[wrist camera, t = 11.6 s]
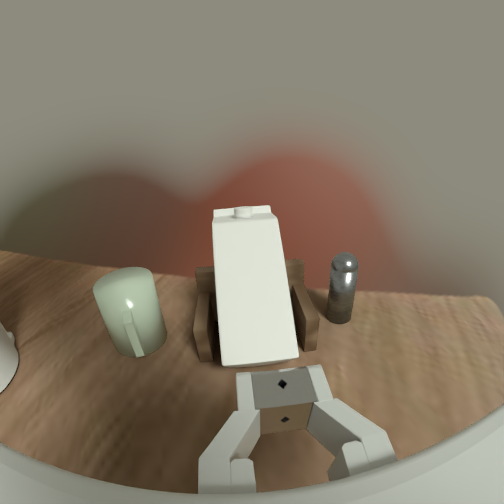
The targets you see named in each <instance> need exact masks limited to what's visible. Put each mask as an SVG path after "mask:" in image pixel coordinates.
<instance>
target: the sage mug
mask: <svg viewBox="0 0 504 504" xmlns="http://www.w3.org/2000/svg"><path fill="white" fill-rule="evenodd" d="M93 293H94V296H95V299H96V302H97V304H98V307H99V310H100V312H101V315H102V317H103V320H104V322H105V325H106V327H107V330H108V332H109V335H110V337H111V339H112V342H113V344H114V346H115V348H116V350H117V351H118V352H119V353H120V354H122V355H125V356H128V357H141V356H145V355H148V354H151V353H153V352H155V351H156V350H158V349H159V348H160V347H161V346H162V345H163V344H164V343H165V341H166V339H167V329H166V326H165V322H164V319H163V315H162V312H161V308H160V304H159V301H158V297H157V293H156V289H155V285H154V281H153V276H152V273H151V272H150V271H149V270H147V269H145V268H140V267H129V268H123V269H119V270H115V271H113V272H110V273H108V274H106V275H105V276H103V277H102V278H100V279H99V280H98V281H97V282H96V283H95V285H94V287H93Z"/></svg>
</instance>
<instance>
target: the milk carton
mask: <svg viewBox="0 0 504 504" xmlns="http://www.w3.org/2000/svg"><path fill="white" fill-rule="evenodd" d="M212 231H213V232H212V233H213V252H214V270H215V286H216V300H217V313H218V326H219V338H220V349H221V360H222V365H223V366H225V367H227V368H237V367H251V366H261V365H269V364H276V363H282V362H286V361H290V360H293V359H295V358H298V357H299V353H298V346H297V339H296V332H295V325H294V318H293V311H292V305H291V298H290V292H289V285H288V279H287V273H286V267H285V261H284V255H283V249H282V243H281V237H280V231H279V226H278V220H277V217H276V216H274V215H273V214H272V213H271V209H270V206H269V205H268V206H254V207H249V206H246V207H237V208H230V209H219V210H214V219H213V222H212Z"/></svg>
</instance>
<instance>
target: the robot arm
mask: <svg viewBox="0 0 504 504" xmlns="http://www.w3.org/2000/svg"><path fill="white" fill-rule="evenodd" d="M14 341H15V338H14V336H13V334H12V333H11V332H6V330H5V329H4V327H3V326H2V324H1V322H0V392H2V391H3V390H4V388H5V387H6V386H7V385H8V384H9V382H10V381H11V379H12V378H13V376H14V374H15V372H16V369H17V366H18V359H19V357H18V352H17V350H16V348H15V346H14ZM236 388H237V404H238V411H233V413H232V414H231V416H230V417H229V418H228V420H227V421H226V423H225V424H224V425H223V427H222V428H221V429H220V431H219V432H218V434H217V435H216V436H215V438H214V439H213V440H212V442H211V443H210V444H209V446H208V447H207V448H206V450H205V451H204V452H203V453H202V455H201V456H200V457H199V468H198V494H189V493H175V492H164V491H156V490H148V489H141V488H135V487H129V486H124V485H119V484H114V483H110V482H105V481H101V480H97V479H93V478H90V477H86V476H82V475H79V474H76V473H72V472H69V471H66V470H63V469H60V468H58V467H55V466H52V465H49V464H47V463H44V462H42V461H39V460H37V459H34V458H32V457H29V456H27V455H25V454H23V453H21V452H18V451H16V450H14V449H12V448H10V447H8V446H6V445H4V444H2V443H1V442H0V504H504V403H503V404H502V405H500V406H499V407H498V408H496V409H495V410H493V411H492V412H490V413H489V414H487V415H486V416H484V417H483V418H481V419H480V420H478V421H476V422H475V423H473V424H471V425H470V426H468V427H466V428H465V429H463V430H461V431H459V432H458V433H456V434H454V435H452V436H450V437H448V438H447V439H445V440H443V441H441V442H439V443H437V444H435V445H433V446H430V447H428V448H426V449H424V450H422V451H420V452H417V453H415V454H413V455H410V456H408V457H405V458H403V459H400V460H397V458H396V455H395V453H394V450H393V448H392V446H391V443H390V441H389V438H388V436H387V434H386V431H384V430H383V429H381V428H380V427H378V426H377V425H375V424H374V423H372V422H371V421H369V420H368V419H366V418H365V417H363V416H362V415H361V414H359V413H358V412H356V411H355V410H353V409H352V408H350V407H349V406H348V405H346V404H345V403H343V402H342V401H341V400H339V399H338V398H336V399H333V396H332V393H331V391H330V388H329V385H328V382H327V380H326V377H325V374H324V371H323V369H322V366H321V365H320V364H319V365H313V366H306V367H305V366H304V367H297V368H289V369H281V370H275V371H261V372H251V373H250V372H244V373H236ZM300 429H307V431H308V432H310V433H311V434H312V435H313V436H314V437H315V438H316V439H317V440H318V441H319V442H320V443H321V444H322V445H323V446H324V447H325V448H326V449H327V450H328V451H330V452H331V453H332V454H333V455H334V456H335V457H336V458H335V460H334V461H333V463H332V465H331V466H330V468H329V469H328V471H327V473H328V477H329V482H325V483H320V484H315V485H310V486H304V487H299V488H292V489H285V490H278V491H269V492H258V493H257V491H256V483H255V475H254V466H253V461H251V460H250V459H248V457H249V455H250V453H251V451H252V450H253V448H254V446H255V444H256V443H257V441H258V439H259V437H260V434H268V433H276V432H283V431H292V430H300Z"/></svg>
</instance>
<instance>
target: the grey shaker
mask: <svg viewBox="0 0 504 504" xmlns="http://www.w3.org/2000/svg"><path fill="white" fill-rule="evenodd" d="M357 274H358V261H357V259H356V257H355V256H354V255H352V254H351V253H348V252H342V253H339V254H337V255H336V256H335V257H334V258H333V260H332V263H331V273H330V285H329V294H328V304H327V314H326V317H327V319H328V320H329V321H330V322H332V323H335V324H344V323H347V322H349V321H350V319H351V314H352V308H353V302H354V296H355V289H356V282H357Z"/></svg>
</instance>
